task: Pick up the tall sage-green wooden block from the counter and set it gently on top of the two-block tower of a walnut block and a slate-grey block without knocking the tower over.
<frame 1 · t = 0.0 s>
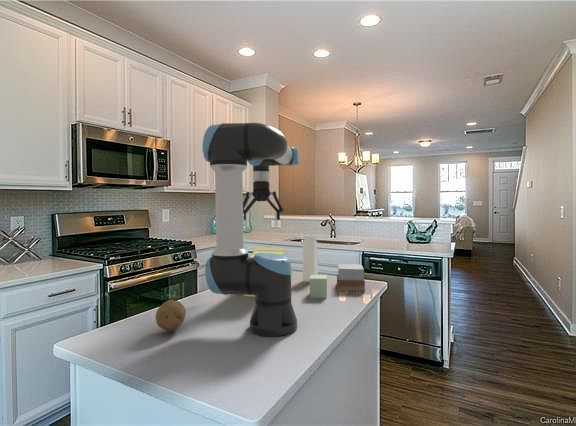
hand: (261, 227, 158), 28 cm above the counter, tool pointing down, fingers open, 13 cm apart
tower top: (350, 277, 157), point 5 cm above the counter, touching tower base
slatted curved stool: (260, 292, 151), on the counter
potato: (170, 333, 106), on the counter
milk: (310, 280, 172), on the counter
sage block: (318, 295, 145), on the counter
tower base: (350, 288, 157), on the counter, touching tower top
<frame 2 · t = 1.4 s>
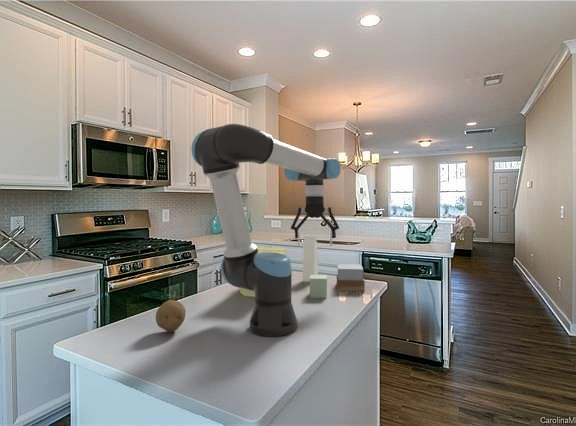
hand: (314, 246, 145), 21 cm above the counter, tool pointing down, fingers open, 13 cm apart
tower top: (349, 277, 157), point 5 cm above the counter
tower base: (349, 288, 157), on the counter
everything else where it was.
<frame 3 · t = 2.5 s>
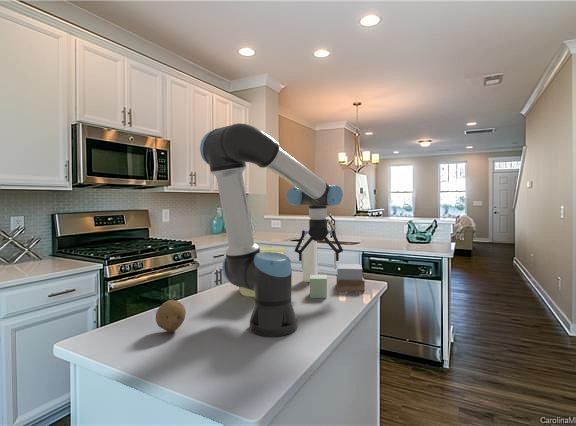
hand: (318, 268, 145), 11 cm above the counter, tool pointing down, fingers open, 13 cm apart
tower top: (349, 277, 158), point 5 cm above the counter, touching tower base
tower base: (350, 288, 157), on the counter, touching tower top
everything else where it was.
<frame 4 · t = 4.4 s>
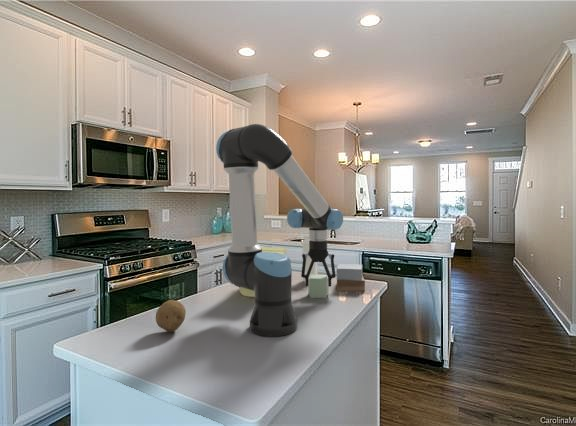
hand: (318, 293, 145), 1 cm above the counter, tool pointing down, fingers closed on sage block, 7 cm apart
sage block: (318, 295, 145), on the counter, touching gripper
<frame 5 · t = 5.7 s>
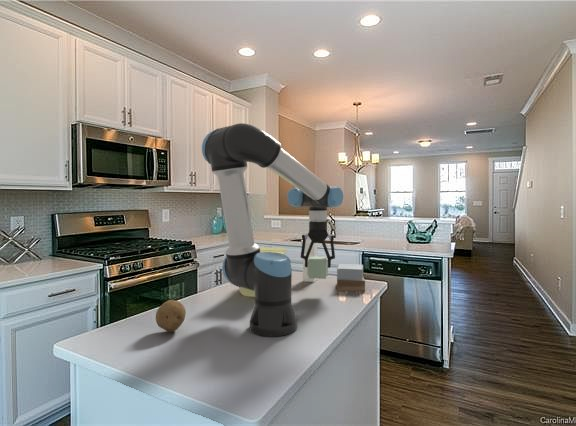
hand: (317, 275, 145), 9 cm above the counter, tool pointing down, fingers closed on sage block, 7 cm apart
sage block: (317, 276, 145), point 8 cm above the counter, touching gripper
everything else where it was.
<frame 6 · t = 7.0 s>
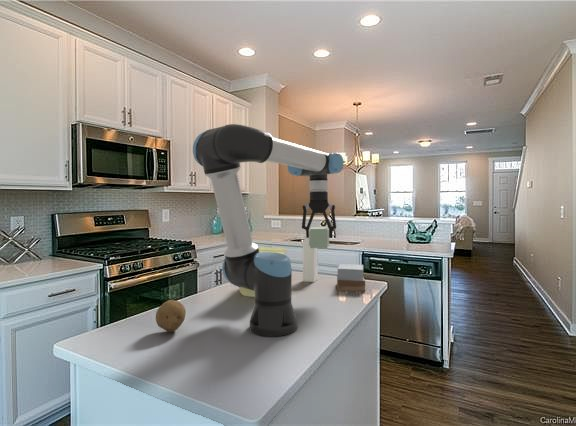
hand: (319, 245, 145), 21 cm above the counter, tool pointing down, fingers closed on sage block, 7 cm apart
sage block: (319, 247, 145), point 20 cm above the counter, touching gripper
everything else where it was.
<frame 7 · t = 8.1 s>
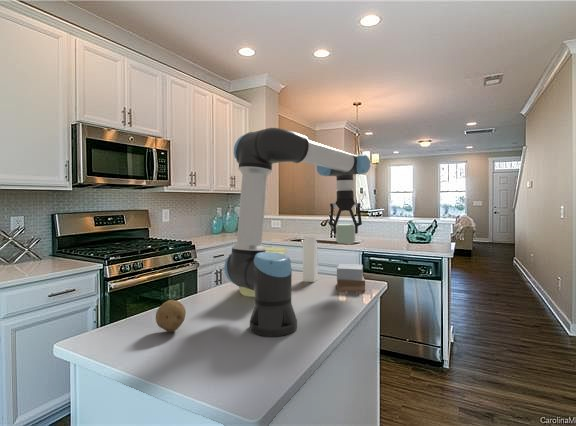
hand: (345, 240, 155), 22 cm above the counter, tool pointing down, fingers closed on sage block, 7 cm apart
sage block: (345, 242, 155), point 21 cm above the counter, touching gripper
everything else where it was.
when the fingers open (12 cm above the counter, at t = 11.4 s): sage block drops 2 cm, point 10 cm above the counter.
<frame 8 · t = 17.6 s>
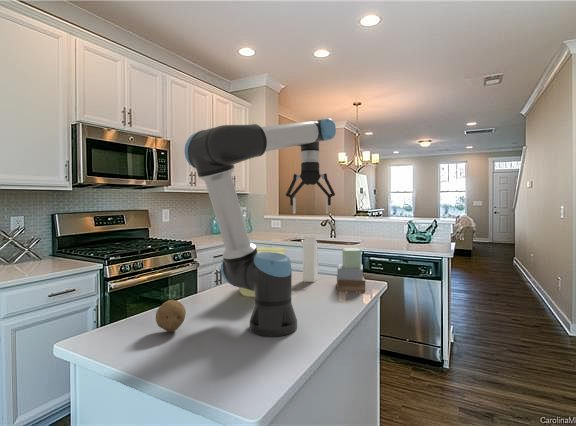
hand: (310, 213, 142), 35 cm above the counter, tool pointing down, fingers open, 13 cm apart
sage block: (351, 266, 157), point 10 cm above the counter
everything else where it was.
at the end: sage block 0.6 cm off-centre on the tower top, point 5.0 cm above the tower top's base; tower top 0.1 cm off-centre on the tower base, point 5.0 cm above the tower base's base; tower base moved 0.6 cm from its start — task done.
